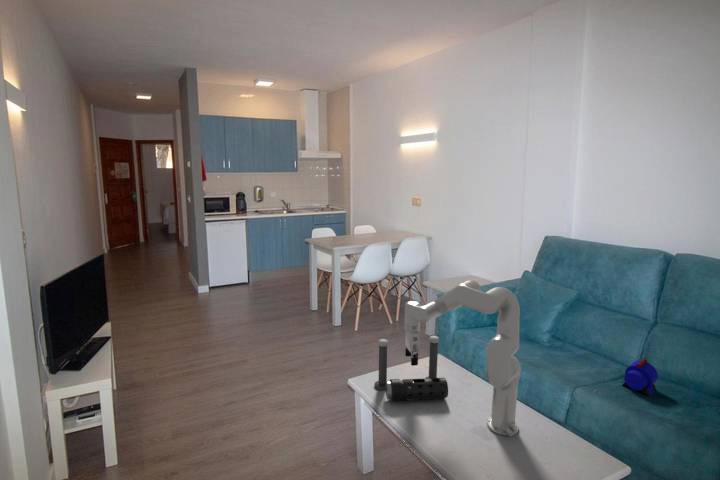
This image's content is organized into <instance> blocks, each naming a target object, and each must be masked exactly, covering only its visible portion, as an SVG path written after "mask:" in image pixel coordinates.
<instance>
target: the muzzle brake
mask: <svg viewBox="0 0 720 480" xmlns="http://www.w3.org/2000/svg"><path fill="white" fill-rule="evenodd" d="M385 396H386V399H387V400H390V401H391V402H395V401H396V402H397V401H398V402H399V401H400V402H406V401H408V400H421V401H422V400H439V399H440V400H441V399H442V400H443V399H446V398H448V396H449V386H448V380H447V379H446V377H437V378H426V377H425V378H406V379H405V378H404V379H402V380H401V379H399V378H392V379H391V378H390V379H389V380H387V381H386V391H385Z"/></svg>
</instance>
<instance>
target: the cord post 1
mask: <svg viewBox="0 0 720 480" xmlns="http://www.w3.org/2000/svg"><path fill="white" fill-rule="evenodd" d="M388 345H389V343H388V339H386V338H381V339H379V340H378V380H376V381H375V382H374V388H375V390H378V391H382V392H386V381H388V380H387V379H388V378H387V377H388V376H387V375H388V371H387V370H388Z"/></svg>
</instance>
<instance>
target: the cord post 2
mask: <svg viewBox="0 0 720 480" xmlns="http://www.w3.org/2000/svg"><path fill="white" fill-rule="evenodd" d="M439 338H440V337H439V336H437V335H430V336H429V356H428V357H429V359H428V360H429V361H428V376H425V378H438V377H437V376H438V354H439V353H438V352H439Z"/></svg>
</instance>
